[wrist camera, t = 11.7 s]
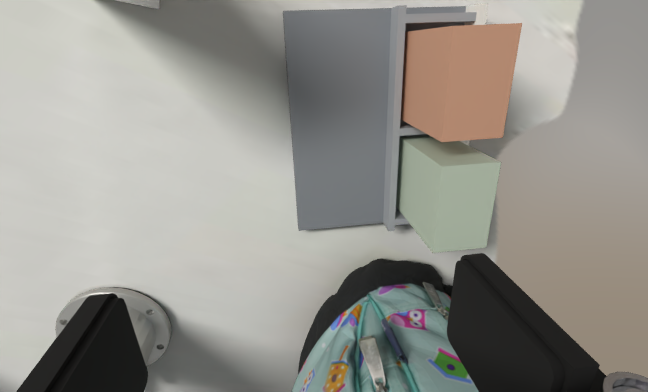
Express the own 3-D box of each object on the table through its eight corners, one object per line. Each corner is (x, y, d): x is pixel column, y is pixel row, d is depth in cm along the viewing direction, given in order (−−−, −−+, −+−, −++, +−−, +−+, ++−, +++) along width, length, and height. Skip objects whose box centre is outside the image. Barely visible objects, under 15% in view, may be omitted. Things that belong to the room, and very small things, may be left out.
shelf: (446, 210, 43) (460, 224, 39) (298, 224, 41) (300, 239, 37) (470, 7, 34) (490, 3, 31) (282, 12, 32) (283, 8, 29)
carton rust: (445, 115, 36) (503, 137, 27) (398, 118, 36) (441, 142, 27) (453, 30, 33) (522, 23, 24) (402, 32, 32) (453, 25, 23)
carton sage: (438, 202, 40) (486, 247, 31) (396, 206, 40) (432, 253, 30) (445, 133, 37) (501, 162, 28) (399, 137, 36) (441, 166, 27)
